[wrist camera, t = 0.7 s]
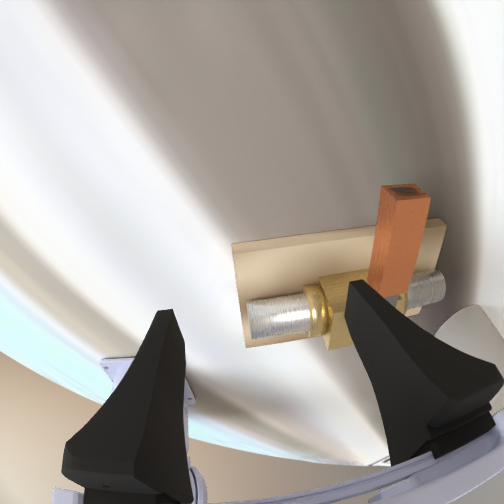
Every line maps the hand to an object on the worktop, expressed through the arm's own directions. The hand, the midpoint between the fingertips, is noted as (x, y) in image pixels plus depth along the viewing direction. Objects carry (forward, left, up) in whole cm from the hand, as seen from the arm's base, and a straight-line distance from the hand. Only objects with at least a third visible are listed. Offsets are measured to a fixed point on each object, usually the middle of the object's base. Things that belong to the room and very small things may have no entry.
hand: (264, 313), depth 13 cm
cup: (-20, -26, -10) cm, 34 cm away
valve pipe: (-8, -8, -10) cm, 14 cm away
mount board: (-8, -8, -10) cm, 14 cm away
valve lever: (-3, -8, -4) cm, 9 cm away
